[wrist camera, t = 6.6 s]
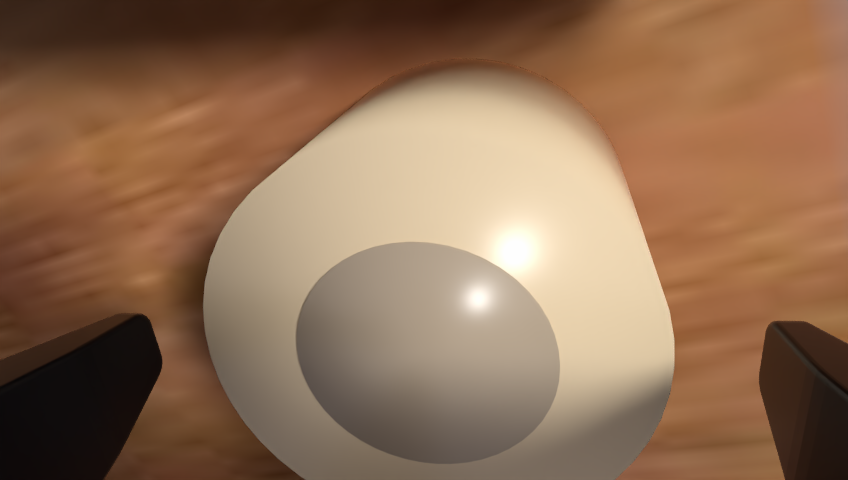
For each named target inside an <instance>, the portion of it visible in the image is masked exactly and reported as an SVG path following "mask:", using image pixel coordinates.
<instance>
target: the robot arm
mask: <svg viewBox="0 0 848 480" xmlns="http://www.w3.org/2000/svg"><path fill="white" fill-rule="evenodd" d="M161 369H162V355H161V352H160V349H159V346H158V343H157V340H156V337H155V334H154V331H153V328H152V325H151V322H150V320H149V319H148V318H147V317H146V316H145V315H143V314H138V313H121V314H116V315H114V316H111V317H109V318H106V319H104V320H101V321H99V322H96V323H93V324H91V325H88V326H86V327H83V328H81V329H78V330H76V331H73V332H71V333H68V334H66V335H63V336H61V337H58V338H56V339H53V340H50V341H48V342H45V343H43V344H40V345H38V346H35V347H33V348H30V349H28V350H25V351H23V352H20V353H18V354H15V355H13V356H10V357H7V358H5V359H2V360H0V480H104V479H105V477H106V476H107V474H108V472H109V471H110V469H111V467H112V466H113V464H114V462H115V461H116V459H117V457H118V456H119V454H120V452H121V450H122V448H123V446H124V444H125V443H126V441H127V439H128V437H129V435H130V433H131V431H132V429H133V427H134V425H135V423H136V421H137V419H138V417H139V415H140V413H141V411H142V409H143V407H144V405H145V403H146V401H147V399H148V397H149V395H150V393H151V391H152V389H153V387H154V385H155V383H156V381H157V379H158V377H159V375H160V372H161ZM759 385H760V391H761V395H762V399H763V402H764V406H765V409H766V413H767V416H768V420H769V424H770V427H771V431H772V434H773V438H774V441H775V445H776V448H777V452H778V456H779V459H780V463H781V466H782V470H783V473H784V477H785V480H848V344H847V343H845V342H843V341H842V340H840V339H838V338H836V337H834V336H832V335H830V334H828V333H827V332H825V331H823V330H821V329H819V328H817V327H815V326H813V325H811V324H810V323H808V322H804V321H773V322H771V323H770V324H769V325H768V327H767V330H766V334H765V340H764V347H763V353H762V360H761V366H760V373H759Z"/></svg>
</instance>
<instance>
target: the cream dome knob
mask: <svg viewBox="0 0 848 480" xmlns="http://www.w3.org/2000/svg"><path fill="white" fill-rule="evenodd" d="M203 313H204V326H205V334H206V339H207V343H208V348H209V352H210V356H211V359H212V362H213V365H214V367H215V370H216V373H217V376H218V378H219V381H220V382H221V384H222V386H223V388H224V390H225V392H226V394H227V396H228V398H229V400H230V402H231V403H232V405H233V406H234V408H235V409H236V411H237V412H238V414H239V415H240V417H241V418H242V420H243V421H244V423H245V424H246V425H247V426H248V427H249V429H250V430H251V431H252V432H253V433H254V435H255V436H256V437H257V438H258V439H259V440H260V442H261V443H262V444H263V445H264V446H266V447H267V448H268V449H269V450H270V451H271V452H272V453H273V454H274V455H275V456H276V457H277V458H278V459H279V460H280V461H281V462H283V463H284V464H285V465H287V466H288V467H289V468H290V469H292V470H293V471H294V472H295V473H297V474H298V475H299V476H301V477H302V478H304V479H305V480H615V479H616V478H617V477H618V476H619V475H620V474H621V473H622V472H623V471H624V470H625V469H626V468H627V467H628V466H629V465H631V464H632V463H633V462H634V460H635V459H636V458H637V456H638V455H639V454H640V452H641V451H642V450H643V449H644V447H645V446H646V445H647V443H648V442H649V440H650V438H651V437H652V435H653V433H654V431H655V429H656V427H657V426H658V424H659V422H660V420H661V418H662V415H663V412H664V409H665V406H666V404H667V401H668V398H669V395H670V390H671V384H672V378H673V372H674V335H673V329H672V323H671V317H670V311H669V308H668V305H667V302H666V299H665V296H664V293H663V290H662V287H661V284H660V281H659V278H658V275H657V272H656V269H655V266H654V263H653V260H652V257H651V254H650V251H649V248H648V245H647V242H646V239H645V236H644V233H643V230H642V227H641V224H640V221H639V218H638V215H637V212H636V209H635V206H634V203H633V200H632V197H631V194H630V191H629V188H628V185H627V182H626V179H625V176H624V173H623V170H622V168H621V165H620V162H619V159H618V156H617V153H616V152H615V150H614V148H613V146H612V144H611V142H610V140H609V138H608V136H607V134H606V133H605V132H604V130H603V129H602V127H601V126H600V125H599V123H598V122H597V120H596V119H595V118H594V117H593V116H592V115H591V114H590V112H589V111H588V110H587V109H586V108H585V107H584V106H583V105H582V104H581V103H580V102H579V101H578V100H576V99H575V98H574V97H573V96H571V95H570V94H569V93H568V92H566V91H565V90H564V89H562V88H561V87H559V86H558V85H556V84H554V83H553V82H551V81H549V80H547V79H546V78H544V77H542V76H540V75H538V74H535V73H533V72H530V71H528V70H526V69H523V68H521V67H517V66H513V65H509V64H506V63H502V62H497V61H489V60H482V59H451V60H444V61H437V62H431V63H428V64H424V65H421V66H417V67H414V68H411V69H408V70H406V71H404V72H402V73H399V74H397V75H395V76H393V77H391V78H389V79H388V80H386V81H384V82H383V83H381V84H380V85H378V86H376V87H375V88H373V89H372V90H371V91H370V92H369V93H367V94H366V95H365V96H364V97H363V98H362V99H360V100H359V101H358V102H357V103H356V104H354V105H353V106H352V107H351V108H350V109H348V110H347V111H346V112H345V113H344V114H342V115H341V116H340V117H339V118H338V119H337V120H335V121H334V122H333V123H332V124H331V125H329V126H328V127H327V128H326V129H325V130H323V131H322V132H321V133H320V134H319V135H317V136H316V137H315V138H314V139H313V140H311V141H310V142H309V143H308V144H307V145H306V146H304V147H303V148H302V149H301V150H300V151H298V152H297V153H296V154H295V155H294V156H292V157H291V158H290V159H289V160H288V161H286V162H285V163H284V164H283V165H282V166H280V167H279V168H278V169H277V170H276V171H275V172H273V173H272V174H271V175H270V176H269V177H267V178H266V179H265V180H264V181H263V182H262V183H260V184H259V185H258V186H257V187H256V188H254V189H253V190H252V191H251V192H250V193H249V195H248V196H247V197H246V198H245V199H244V200H243V202H242V203H241V204H240V205H239V206H238V207H237V209H236V210H235V211H234V212H233V214H232V215H231V217H230V219H229V220H228V222H227V224H226V225H225V227H224V229H223V230H222V232H221V233H220V236H219V238H218V240H217V243H216V245H215V248H214V250H213V253H212V255H211V258H210V262H209V266H208V271H207V275H206V279H205V286H204V300H203Z"/></svg>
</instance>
